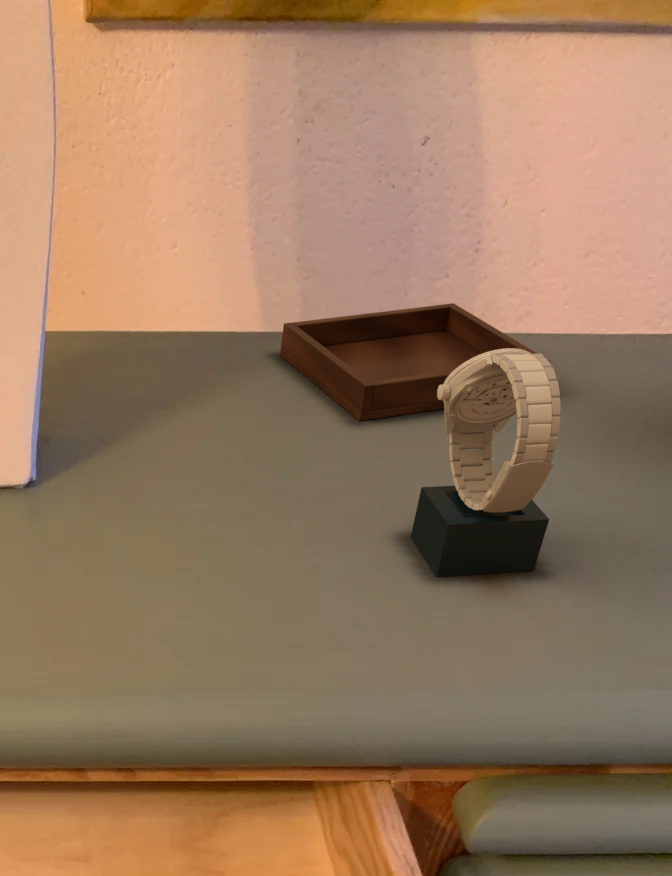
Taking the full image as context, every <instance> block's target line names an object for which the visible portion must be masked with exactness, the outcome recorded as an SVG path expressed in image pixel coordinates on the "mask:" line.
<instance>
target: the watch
mask: <svg viewBox="0 0 672 876" xmlns="http://www.w3.org/2000/svg"><path fill="white" fill-rule="evenodd" d="M547 359H548V358H546V357H545V355H544V354H542V353H538V354H531V353H530V352H527V351H525V350H522V349H516V348H507V349H506V348H505V349H497V350H492V351H489V352H485V353H483V354H480V355H477V356H475V357H473V358H471V359H470V360H467V361H466V362H464V363H463V364H461V365H460V366H459V367H457V368H456V369H455V370H454V371H453V372H452V373H451V374H450V375H449V376H448V377H447V378H446V380H445V382H444V384H443V385H439V387H438V390H437V397H438V399H439V400H443V402H444V409H443V410H444V430H445V434H446V435H449V445H448V450H449V451H448V452H449V453H448V454H449V461H450V463H449V465H450V470H451V475H452V476H451V477H452V478H453V479H452V481H453V485H440V486H421V487H420V493H419V497H418V501H417V505H416V511H415V514H414V520H413V524H412V527H411V528H412V529H411V533H410V539H411V541H412V542H413V544H414V545H415V547H416V548H417V550H418V551H419V553H420V555H421V556H422V558H423V559H424V560H425V563H427V565H428V566H429V568H430V569H431V570H432V572H433V574H434V575H435V577H438V578H439V577H452V576H453V577H455V576H471V575H490V574H506V573H522V572H525V573H526V572H534V571H535V568H536V565H537V561H538V557H539V555H540V551H541V548H542V545H543V543H544V542H543V541H544V539H545V535H546V532H547V528H548V526H549V522H550V518H549V516H547V515H546V513H545V512H544V511H542V509H541V508H540V507H539V506H538V504H537V503H536V502H535V501H534V500H533V499H534V498H535V496H536V495H537V494H538V492H539V491H540V490H541V488H542V487H543V485H544V483H545V481H546V480H547V478H548V477H549V474H550V473H551V471H552V468H553V467H554V465H555V464H554V462H552V461H553V458H554V457H555V451H556V448H557V444H558V441H559V436H558V435H559V433H560V428H561V427H560V426H561V391H560V385H559V380H557V379H558V378H557V375H556V371H555V369H554V367H553V366H552V364H551V361H550V360H549V359H548V360H549V361H550V362H549V361H548V360H547ZM513 416H516V417H517V418H518V419H517V422H516V436H517V437H516V438H515V443H514V449H513V452H512V455H511V458H510V460H504V462H503V464H502V466H501V468H500V470H499V472H498V474H497V476H496V478H495V475H494V467H493V460H492V456H493V455H492V454H493V453H492V451H493V443H491V442H493V435H494V432H495V433H498V432H501V431H502V430H503V429H504V428H505V426H506V424H507V423H508V422H509V421H510V420H511V418H512V417H513Z"/></svg>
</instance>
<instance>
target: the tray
mask: <svg viewBox="0 0 672 876" xmlns="http://www.w3.org/2000/svg"><path fill="white" fill-rule="evenodd" d="M282 327H283V329H282V334H281V335H282V336H281V342H280V351H279V352H280V353H279V356H280V357H281V358H282V359H283V360H284V361H286V362H288V364H289V365H291V366H292V367H293V368H294V369H296V370H297V371H298V372H299V373H301V374H302V375H303V376H304V377H305V378H306V379H308V380H309V381H310V382H312V383H313V384H314V385H316V387H318V388H319V389H320V390H321V391H322V392H323V393H325V394H326V395H327V396H328V397H330V398H331V399H332V400H333V401H335V402H336V403H337V404H338V405H340V406H341V407H342V408H343V409H345V411H347V412H348V413H349V414H351V415H352V416H353V417H355V418H356V419H357V420H358V421H359V422H361V421H366V420H367V421H368V420H374V419H380V418H388V417H395V416H402V415H409V414H410V415H411V414H416V413H423V412H430V411H437V410H444V402H443V400H439V399H438V397H437V390H438V387H439V385H443V384H444V382H445V380H446V378H447V377H448V376H449V375H450V374H451V373H452V372H453V371H454V370H455V369H456V368H457V367H459V366H460V365H461V364H463V363H464V362H466V361H467V360H470V359H471V358H473V357H475V356H477V355H480V354H483V353H485V352H489V351H492V350H497V349H505V348H506V349H507V348H516V349H522V350H525V351H527V352H530V353H531V354H539V353H538V352H536V351H534V350H533V349H531V348H529V347H528V346H526V345H525V344H522V343H521V342H520V341H518V340H516V339H514V338H513V337H511V336H509V335H508V334H506V333H504V332H503V331H501V330H499V329H497V328H496V327H495V326H493V325H491V324H489V323H487V322H485V321H484V320H482V319H481V318H479V317H477V316H476V315H474V314H472V313H471V312H469V311H467V310H466V309H464V308H462V307H460V306H459V305H458V304H456V303H453V302H452V303H445V304H437V305H436V304H435V305H428V306H427V305H426V306H420V307H410V308H403V309H396V310H386V311H377V312H369V313H361V314H353V315H343V316H336V317H327V318H319V319H311V320H303V321H301V320H300V321H294V322H286V323H285V322H284V323H283V326H282ZM546 359H547V360H548V361H549V362H550V363H551V360H550V359H548V358H546Z"/></svg>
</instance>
